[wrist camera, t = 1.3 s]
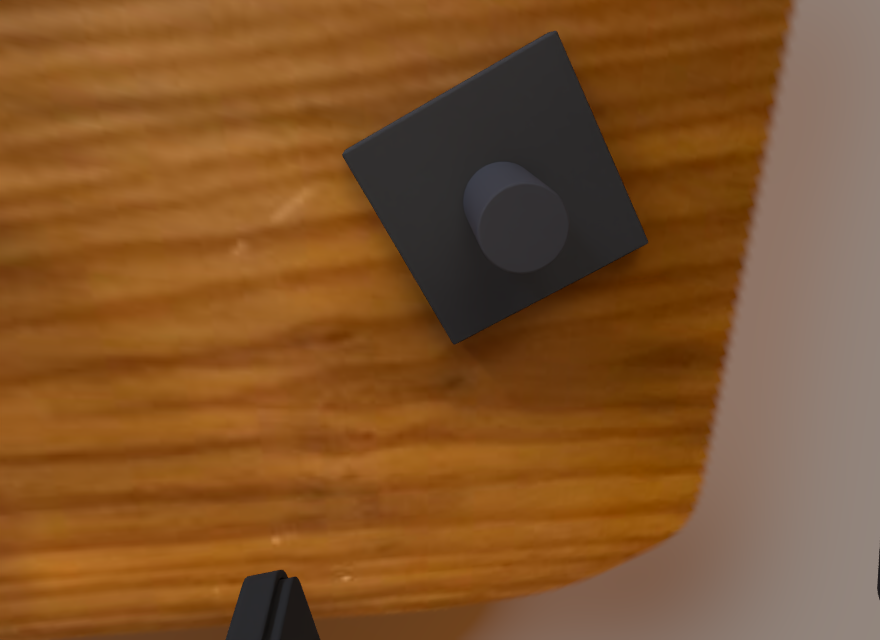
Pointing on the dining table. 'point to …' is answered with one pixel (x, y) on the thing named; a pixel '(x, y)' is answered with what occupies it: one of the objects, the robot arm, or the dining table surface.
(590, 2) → the dining table surface
